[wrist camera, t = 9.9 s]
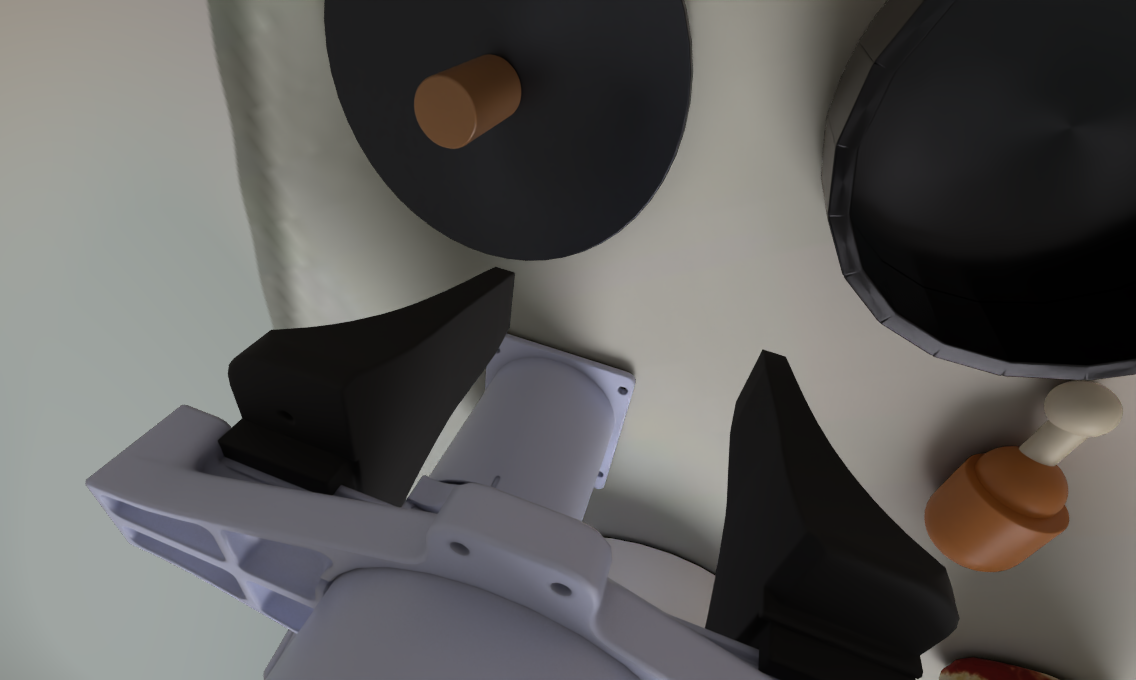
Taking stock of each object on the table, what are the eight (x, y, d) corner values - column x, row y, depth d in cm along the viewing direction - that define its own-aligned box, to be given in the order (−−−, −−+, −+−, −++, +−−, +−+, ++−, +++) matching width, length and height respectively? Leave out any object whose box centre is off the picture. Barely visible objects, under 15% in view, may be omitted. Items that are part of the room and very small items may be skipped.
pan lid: (643, 286, 24) (617, 351, 20) (363, 205, 26) (292, 250, 22) (758, -137, 15) (749, -162, 11) (314, -206, 17) (182, -246, 13)
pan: (1132, 354, 19) (1198, 433, 16) (764, 254, 21) (761, 308, 18) (1660, -134, 11) (2005, -161, 8) (966, -220, 13) (1023, -268, 10)
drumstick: (984, 527, 26) (1007, 602, 23) (901, 499, 26) (914, 568, 23) (1148, 387, 20) (1209, 464, 17) (1036, 355, 20) (1075, 423, 17)
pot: (510, 649, 52) (489, 702, 49) (428, 501, 41) (393, 557, 37) (833, 728, 42) (838, 804, 38) (850, 558, 30) (859, 644, 26)
